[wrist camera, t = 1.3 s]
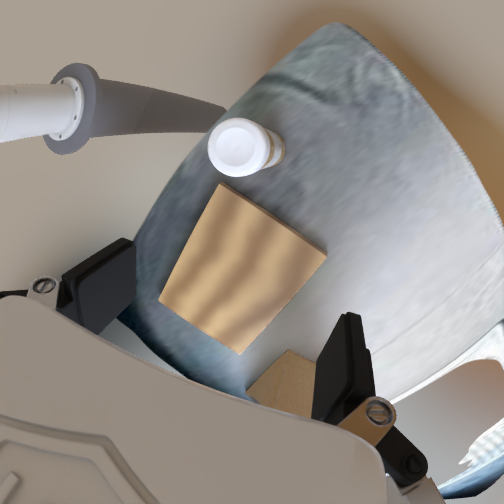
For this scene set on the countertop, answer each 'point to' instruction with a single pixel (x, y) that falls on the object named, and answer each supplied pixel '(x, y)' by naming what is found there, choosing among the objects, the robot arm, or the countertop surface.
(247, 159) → the sprinkles bottle
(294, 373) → the sandwich container
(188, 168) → the countertop surface
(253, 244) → the chopping board
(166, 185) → the countertop surface
